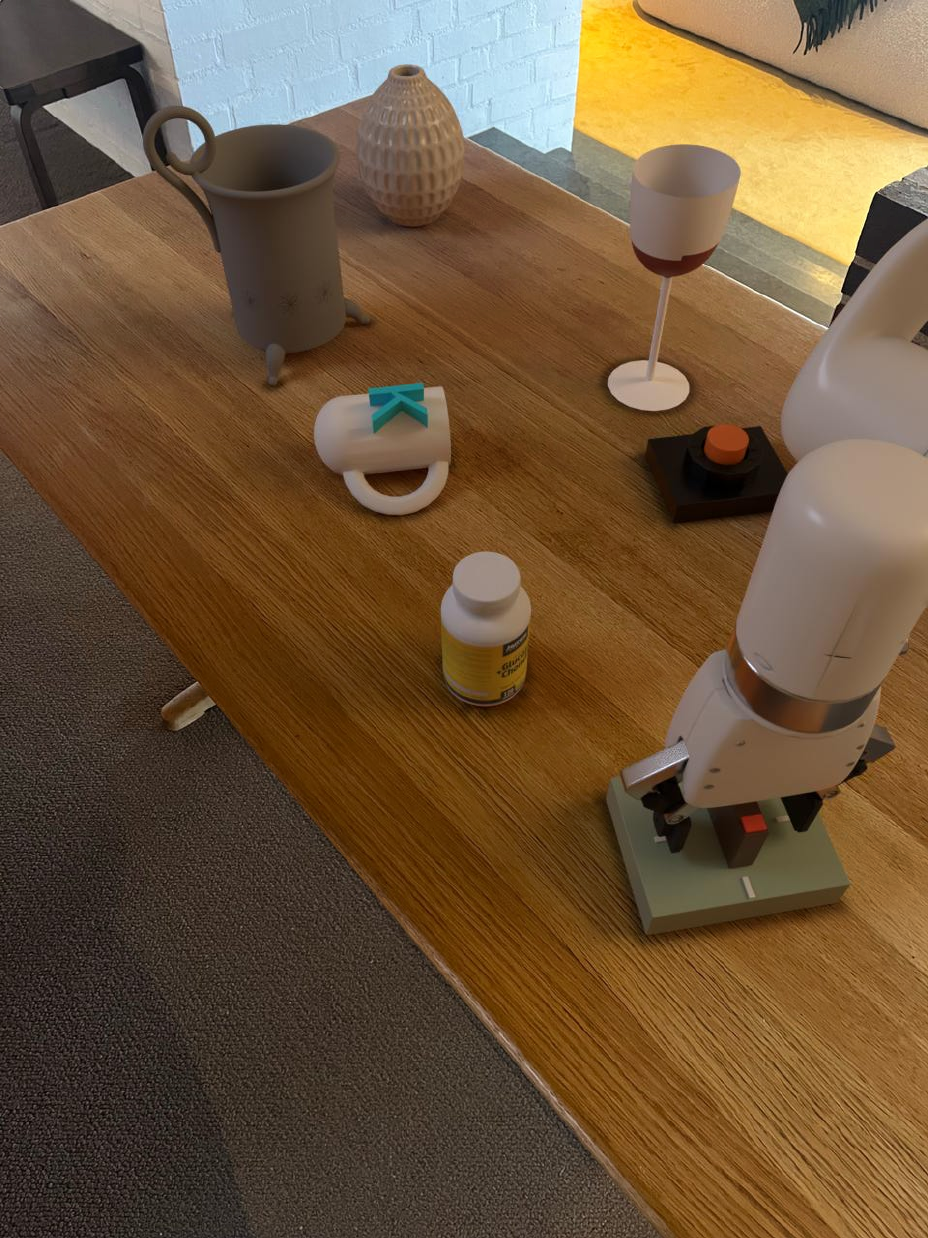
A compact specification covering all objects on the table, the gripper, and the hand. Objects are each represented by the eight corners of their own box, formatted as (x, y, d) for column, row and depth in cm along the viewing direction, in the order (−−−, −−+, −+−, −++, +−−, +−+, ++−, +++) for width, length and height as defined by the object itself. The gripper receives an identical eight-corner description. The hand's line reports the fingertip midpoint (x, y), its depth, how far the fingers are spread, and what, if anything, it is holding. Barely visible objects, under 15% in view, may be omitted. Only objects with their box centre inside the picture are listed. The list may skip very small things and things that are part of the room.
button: (736, 437, 87) (740, 421, 85) (750, 463, 85) (755, 448, 83) (698, 441, 86) (701, 426, 85) (711, 468, 84) (715, 452, 83)
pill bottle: (487, 725, 72) (490, 628, 63) (425, 678, 74) (419, 578, 65) (543, 673, 75) (553, 573, 66) (481, 629, 77) (482, 528, 68)
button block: (755, 443, 92) (765, 410, 89) (791, 508, 86) (803, 475, 83) (644, 456, 91) (650, 423, 87) (673, 523, 85) (681, 490, 82)
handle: (701, 793, 65) (715, 757, 61) (723, 790, 65) (739, 753, 61) (728, 869, 61) (745, 835, 57) (752, 865, 61) (770, 831, 58)
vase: (341, 213, 119) (325, 69, 107) (418, 179, 125) (412, 38, 112) (408, 253, 113) (400, 105, 101) (486, 215, 119) (488, 71, 106)
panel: (780, 771, 69) (791, 748, 67) (837, 903, 63) (852, 883, 60) (605, 799, 68) (610, 776, 65) (645, 936, 61) (653, 917, 59)
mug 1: (350, 287, 109) (324, 46, 90) (391, 360, 100) (371, 111, 81) (185, 322, 105) (121, 77, 85) (213, 401, 96) (147, 149, 77)
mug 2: (304, 372, 82) (442, 359, 84) (313, 422, 91) (438, 409, 92) (318, 498, 79) (461, 482, 81) (326, 537, 88) (455, 522, 89)
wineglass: (587, 393, 97) (613, 178, 80) (632, 347, 102) (666, 134, 84) (665, 425, 93) (709, 208, 76) (708, 376, 98) (758, 161, 81)
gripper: (928, 584, 52) (833, 753, 66) (616, 627, 50) (586, 792, 64) (999, 697, 47) (881, 853, 61) (658, 749, 45) (616, 898, 59)
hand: (730, 821), depth 62 cm, fingers open, 7 cm apart
